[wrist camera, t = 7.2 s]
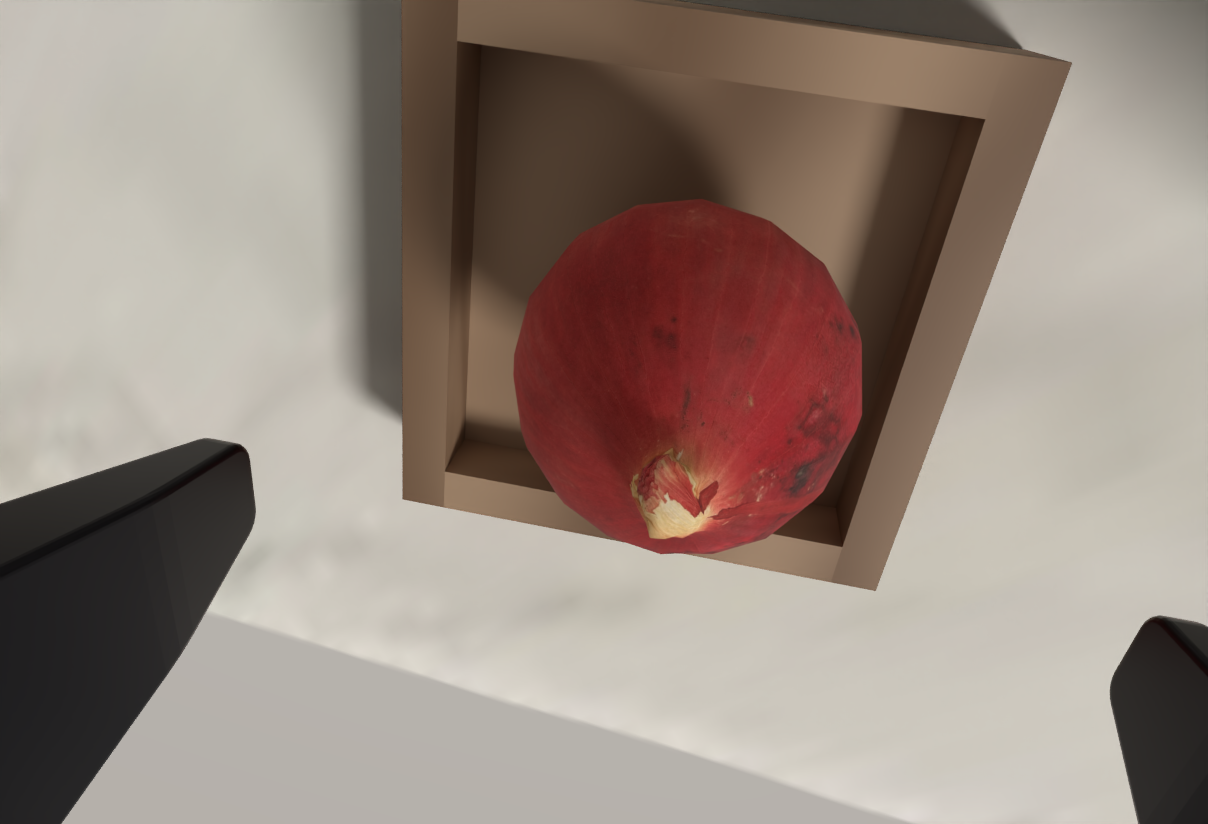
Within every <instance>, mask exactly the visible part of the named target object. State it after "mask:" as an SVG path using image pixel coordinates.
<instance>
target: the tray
mask: <svg viewBox="0 0 1208 824" xmlns="http://www.w3.org/2000/svg"><path fill="white" fill-rule="evenodd" d="M1071 64H1072V63H1071V62H1068V61H1064V60H1060V59H1057V58H1053V57H1049V56H1046V55H1042V54H1039V53H1035V52H1031V51H1028V50H1023V49H1016V48H1009V47H1002V46H995V45H988V44H981V43H974V42H967V41H960V40H953V39H945V38H938V37H931V36H924V35H917V34H910V33H903V32H896V31H889V30H882V29H875V28H867V27H860V26H853V25H846V24H839V23H832V22H825V21H818V20H811V19H804V18H797V17H790V16H782V15H775V14H768V13H761V12H754V11H747V10H740V9H733V8H726V7H719V6H712V5H704V4H697V3H690V2H683V1H676V0H402V434H403V499H404V500H409V501H414V502H419V503H425V504H430V505H435V506H440V507H445V508H450V509H456V510H461V511H466V512H471V513H476V514H481V515H487V516H492V517H497V518H502V519H507V520H512V521H518V522H523V523H528V524H533V525H538V526H543V527H549V528H554V529H559V530H564V531H569V532H574V533H579V534H585V535H590V536H595V537H600V538H605V539H610V540H616V541H620V540H617V539H614V538H612V537H609V536H607V535H605V534H604V533H603V532H601V531H600V530H599V529H597V528H596V527H595V526H593V525H592V524H591V523H589V522H588V521H587V520H585V519H584V518H583V517H581V516H580V515H579V514H577V513H576V512H575V511H573V510H572V509H571V508H569V507H568V506H567V505H565V504H564V503H563V502H562V500H561V499H560V498H559V497H558V495H557V494H556V492H555V491H554V489H553V488H552V486H551V485H550V483H549V481H548V480H547V478H546V477H545V475H544V474H543V472H542V470H541V469H540V467H539V466H538V464H537V463H536V461H535V459H534V458H533V456H532V455H531V453H530V452H529V450H528V448H527V446H526V443H525V440H524V437H523V434H522V431H521V426H520V419H519V412H518V405H517V398H516V391H515V384H514V377H513V370H514V353H515V349H516V345H517V342H518V338H519V334H520V330H521V326H522V323H523V319H524V315H525V311H526V308H527V304H528V300H529V297H530V295H531V294H532V293H533V292H534V290H535V289H536V288H537V286H538V285H539V284H540V282H541V281H542V280H543V279H544V277H545V276H546V275H547V273H548V272H549V271H550V269H551V268H552V267H553V265H554V264H555V263H556V262H557V260H558V259H559V258H560V256H561V255H562V254H563V252H564V251H565V250H566V249H567V247H568V246H569V245H570V244H571V243H572V242H573V241H574V239H575V238H576V237H577V236H578V235H579V234H580V233H582V232H584V231H586V230H588V229H590V228H592V227H594V226H596V225H598V224H600V223H602V222H604V221H606V220H608V219H610V218H612V217H614V216H616V215H618V214H620V213H622V212H624V211H626V210H628V209H630V208H632V207H634V206H636V205H642V204H652V203H663V202H673V201H683V200H694V199H704V200H707V201H710V202H713V203H717V204H720V205H723V206H726V207H729V208H733V209H736V210H739V211H742V212H745V213H749V214H752V215H755V216H758V217H761V218H764V219H766V220H769V221H771V222H772V223H774V224H775V225H776V226H778V227H779V228H780V229H781V230H783V231H784V232H785V233H786V234H788V235H789V236H790V237H791V238H793V239H794V240H795V241H796V242H798V243H799V244H800V245H801V246H803V247H804V248H805V249H806V250H808V251H809V252H810V253H812V254H813V255H814V256H815V257H817V258H818V259H819V260H820V261H822V262H823V263H824V264H825V266H826V268H827V269H828V271H829V273H830V275H831V277H832V279H833V281H834V282H835V284H836V286H837V288H838V290H839V292H840V294H841V295H842V297H843V299H844V301H845V303H846V305H847V307H848V308H849V310H850V312H851V314H852V316H853V318H854V320H855V321H856V323H857V326H858V330H859V334H860V338H861V342H862V416H861V419H860V422H859V424H858V427H857V430H856V432H855V434H854V436H853V437H852V439H851V441H850V443H849V445H848V447H847V449H846V450H845V452H844V454H843V456H842V458H841V460H840V461H839V463H838V465H837V467H836V469H835V471H834V473H833V474H832V476H831V478H830V480H829V482H828V484H827V486H826V487H825V489H824V491H823V492H822V493H821V494H820V495H819V496H818V497H817V498H816V499H815V500H814V501H813V502H811V503H810V504H809V505H808V506H806V507H805V508H804V509H803V510H801V511H800V512H799V513H798V514H796V515H795V516H794V517H793V518H791V519H790V520H789V521H788V522H786V523H785V524H784V525H783V526H781V527H780V528H779V529H777V530H776V531H775V532H774V533H772V534H771V535H770V536H769V537H767V538H766V539H763V540H759V541H756V542H752V543H749V544H745V545H742V546H739V547H735V548H732V549H728V550H725V551H722V552H718V553H715V554H688V555H693V556H698V557H703V558H708V559H714V560H719V561H724V562H729V563H734V564H739V565H745V566H750V567H755V568H760V569H765V570H770V571H776V572H781V573H786V574H791V575H796V576H801V577H807V578H812V579H817V580H822V581H827V582H832V583H837V584H843V585H848V586H853V587H858V588H863V589H868V590H874V591H876V588H877V586H878V583H879V580H880V578H881V575H882V572H883V570H884V567H885V564H886V562H887V559H888V556H889V554H890V551H891V548H892V545H893V543H894V540H895V537H896V535H897V532H898V529H899V527H900V524H901V521H902V519H903V516H904V513H905V511H906V508H907V505H908V502H909V500H910V497H911V494H912V492H913V489H914V486H915V484H916V481H917V478H918V476H919V473H920V470H921V468H922V465H923V462H924V459H925V457H926V454H927V451H928V449H929V446H930V443H931V441H932V438H933V435H934V433H935V430H936V427H937V425H938V422H939V419H940V416H941V414H942V411H943V408H944V406H945V403H946V400H947V398H948V395H949V392H950V390H951V387H952V384H953V381H954V379H955V376H956V373H957V371H958V368H959V365H960V363H961V360H962V357H963V355H964V352H965V349H966V347H967V344H968V341H969V338H970V336H971V333H972V330H973V328H974V325H975V322H976V320H977V317H978V314H979V312H980V309H981V306H982V304H983V301H984V298H985V295H986V293H987V290H988V287H989V285H990V282H991V279H992V277H993V274H994V271H995V269H996V266H997V263H998V261H999V258H1000V255H1001V252H1002V250H1003V247H1004V244H1005V242H1006V239H1007V236H1008V234H1009V231H1010V228H1011V226H1012V223H1013V220H1014V218H1015V215H1016V212H1017V209H1018V207H1019V204H1020V201H1021V199H1022V196H1023V193H1024V191H1025V188H1026V185H1027V183H1028V180H1029V177H1030V175H1031V172H1032V169H1033V166H1034V164H1035V161H1036V158H1037V156H1038V153H1039V150H1040V148H1041V145H1042V142H1043V140H1044V137H1045V134H1046V132H1047V129H1048V126H1049V123H1050V121H1051V118H1052V115H1053V113H1054V110H1055V107H1056V105H1057V102H1058V99H1059V97H1060V94H1061V91H1062V89H1063V86H1064V83H1065V80H1066V78H1067V75H1068V72H1069V70H1070V67H1071ZM621 542H623V541H621Z"/></svg>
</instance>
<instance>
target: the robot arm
mask: <svg viewBox="0 0 1208 824" xmlns="http://www.w3.org/2000/svg"><path fill="white" fill-rule="evenodd" d="M255 513H256V507H255V498H254V490H253V482H252V474H251V465H250V459H249V454H248V452H247V450H246V449H245V448H244V447H243V446H242V445H240V444H237V443H232V442H227V441H221V440H216V439H210V438H203V439H199V440H196V441H193V442H190V443H186V444H183V445H180V446H177V447H174V448H171V449H168V450H165V451H162V452H159V453H156V454H152V455H149V456H146V457H143V458H140V459H137V460H134V461H131V462H128V463H125V464H122V465H119V466H115V467H112V468H109V469H106V470H103V471H100V472H97V473H94V474H91V475H88V476H85V477H81V478H78V479H75V480H72V481H69V482H66V483H63V484H60V485H57V486H54V487H51V488H47V489H44V490H41V491H38V492H35V493H32V494H29V495H26V496H23V497H20V498H17V499H13V500H10V501H7V502H4V503H1V504H0V824H61V823H62V822H63V821H64V819H65V818H66V816H67V815H68V814H69V812H70V811H71V809H72V808H73V807H74V805H75V804H76V802H77V801H78V800H79V798H80V797H81V795H82V794H83V793H84V791H85V790H86V788H87V787H88V785H89V784H90V783H91V781H92V780H93V779H94V777H95V776H96V774H97V773H98V771H99V770H100V769H101V767H102V766H103V764H104V763H105V762H106V760H107V759H108V757H109V756H110V755H111V753H112V752H113V750H114V749H115V748H116V746H117V745H118V743H119V742H120V741H121V739H122V737H123V736H124V735H125V733H126V732H127V731H128V729H129V728H130V726H131V725H132V724H133V722H134V721H135V719H136V718H137V717H138V715H139V714H140V712H141V711H142V710H143V708H144V707H145V705H146V704H147V702H148V701H149V700H150V698H151V697H152V695H153V694H154V693H155V691H156V690H157V688H158V687H159V686H160V684H161V683H162V681H163V680H164V678H165V677H166V676H167V674H168V673H169V671H170V670H171V668H172V667H173V666H174V664H175V662H176V661H177V660H178V658H179V657H180V655H181V654H182V652H183V650H184V649H185V647H186V645H187V644H188V642H189V640H190V639H191V637H192V635H193V634H194V632H195V630H196V629H197V627H198V625H199V623H200V622H201V620H202V618H203V616H204V614H205V613H206V611H207V609H208V607H209V605H210V604H211V602H212V600H213V598H214V597H215V595H216V593H217V591H218V589H219V588H220V586H221V584H222V582H223V581H224V579H225V577H226V575H227V573H228V572H229V570H230V568H231V566H232V565H233V563H234V561H235V559H236V557H237V556H238V554H239V552H240V550H241V549H242V547H243V545H244V543H245V541H246V540H247V538H248V536H249V534H250V532H251V530H252V527H253V524H254V520H255ZM1110 700H1111V706H1112V710H1113V715H1114V719H1115V724H1116V728H1117V732H1118V737H1119V741H1120V746H1121V750H1122V754H1123V759H1124V763H1125V767H1126V772H1127V776H1128V781H1129V785H1130V789H1131V794H1132V798H1133V803H1134V807H1135V811H1136V816H1137V820H1138V824H1208V627H1207V626H1205V625H1203V624H1201V623H1198V622H1194V621H1188V620H1183V619H1177V618H1172V617H1166V616H1155V617H1152V618H1150V619H1148V620H1147V621H1146V622H1145V623H1144V624H1143V625H1142V627H1141V628H1140V630H1139V632H1138V633H1137V635H1136V637H1135V638H1134V640H1133V642H1132V644H1131V645H1130V647H1129V649H1128V650H1127V652H1126V654H1125V655H1124V657H1123V659H1122V661H1121V662H1120V664H1119V666H1118V667H1117V669H1116V671H1115V673H1114V675H1113V677H1112V681H1111V686H1110Z"/></svg>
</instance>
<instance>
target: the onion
mask: <svg viewBox="0 0 1208 824" xmlns="http://www.w3.org/2000/svg"><path fill="white" fill-rule="evenodd" d="M513 377H514V384H515V391H516V398H517V405H518V412H519V419H520V426H521V431H522V434H523V437H524V440H525V443H526V446H527V448H528V450H529V452H530V453H531V455H532V456H533V458H534V459H535V461H536V463H537V464H538V466H539V467H540V469H541V470H542V472H543V474H544V475H545V477H546V478H547V480H548V481H549V483H550V485H551V486H552V488H553V489H554V491H555V492H556V494H557V495H558V497H559V498H560V499H561V500H562V502H563V503H564V504H565V505H567V506H568V507H569V508H571V509H572V510H573V511H575V512H576V513H577V514H579V515H580V516H581V517H583V518H584V519H585V520H587V521H588V522H589V523H591V524H592V525H593V526H595V527H596V528H597V529H599V530H600V531H601V532H603V533H604V534H605V535H607V536H609V537H612V538H614V539H617V540H620V541H623V542H626V543H629V544H632V545H635V546H638V547H641V548H644V549H647V550H650V551H653V552H656V553H659V554H672V553H683V554H715V553H718V552H722V551H725V550H728V549H732V548H735V547H739V546H742V545H745V544H749V543H752V542H756V541H759V540H763V539H766V538H767V537H769V536H770V535H771V534H772V533H774V532H775V531H776V530H777V529H779V528H780V527H781V526H783V525H784V524H785V523H786V522H788V521H789V520H790V519H791V518H793V517H794V516H795V515H796V514H798V513H799V512H800V511H801V510H803V509H804V508H805V507H806V506H808V505H809V504H810V503H811V502H813V501H814V500H815V499H816V498H817V497H818V496H819V495H820V494H821V493H822V492H823V491H824V489H825V487H826V486H827V484H828V482H829V480H830V478H831V476H832V474H833V473H834V471H835V469H836V467H837V465H838V463H839V461H840V460H841V458H842V456H843V454H844V452H845V450H846V449H847V447H848V445H849V443H850V441H851V439H852V437H853V436H854V434H855V432H856V430H857V427H858V424H859V422H860V419H861V416H862V342H861V338H860V334H859V330H858V326H857V323H856V321H855V320H854V318H853V316H852V314H851V312H850V310H849V308H848V307H847V305H846V303H845V301H844V299H843V297H842V295H841V294H840V292H839V290H838V288H837V286H836V284H835V282H834V281H833V279H832V277H831V275H830V273H829V271H828V269H827V268H826V266H825V264H824V263H823V262H822V261H820V260H819V259H818V258H817V257H815V256H814V255H813V254H812V253H810V252H809V251H808V250H806V249H805V248H804V247H803V246H801V245H800V244H799V243H798V242H796V241H795V240H794V239H793V238H791V237H790V236H789V235H788V234H786V233H785V232H784V231H783V230H781V229H780V228H779V227H778V226H776V225H775V224H774V223H772V222H771V221H769V220H766V219H764V218H761V217H758V216H755V215H752V214H749V213H745V212H742V211H739V210H736V209H733V208H729V207H726V206H723V205H720V204H717V203H713V202H710V201H707V200H704V199H694V200H683V201H673V202H663V203H652V204H642V205H636V206H634V207H632V208H630V209H628V210H626V211H624V212H622V213H620V214H618V215H616V216H614V217H612V218H610V219H608V220H606V221H604V222H602V223H600V224H598V225H596V226H594V227H592V228H590V229H588V230H586V231H584V232H582V233H580V234H579V235H578V236H577V237H576V238H575V239H574V241H573V242H572V243H571V244H570V245H569V246H568V247H567V249H566V250H565V251H564V252H563V254H562V255H561V256H560V258H559V259H558V260H557V262H556V263H555V264H554V265H553V267H552V268H551V269H550V271H549V272H548V273H547V275H546V276H545V277H544V279H543V280H542V281H541V282H540V284H539V285H538V286H537V288H536V289H535V290H534V292H533V293H532V294H531V295H530V297H529V300H528V304H527V308H526V311H525V315H524V319H523V323H522V326H521V330H520V334H519V338H518V342H517V345H516V349H515V353H514V370H513Z"/></svg>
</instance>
